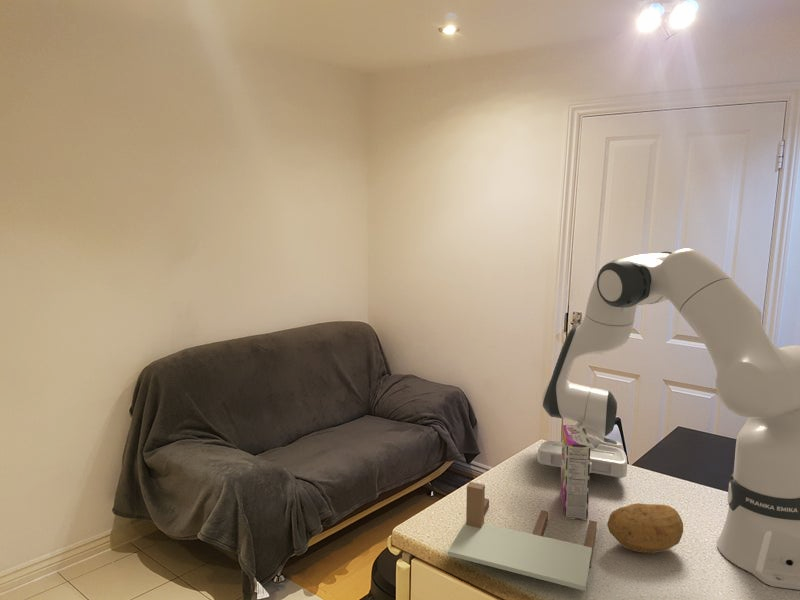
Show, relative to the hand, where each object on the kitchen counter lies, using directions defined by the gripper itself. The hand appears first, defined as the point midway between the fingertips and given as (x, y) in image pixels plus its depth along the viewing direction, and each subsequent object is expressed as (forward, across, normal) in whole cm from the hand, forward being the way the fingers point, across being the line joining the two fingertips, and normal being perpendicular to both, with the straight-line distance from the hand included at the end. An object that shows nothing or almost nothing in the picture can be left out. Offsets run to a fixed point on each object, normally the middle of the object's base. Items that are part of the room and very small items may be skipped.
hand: (578, 472), depth 124 cm
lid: (+32, -6, +3) cm, 32 cm away
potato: (+17, +14, +5) cm, 23 cm away
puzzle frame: (+21, -6, +5) cm, 22 cm away
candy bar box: (+6, 0, +5) cm, 8 cm away
